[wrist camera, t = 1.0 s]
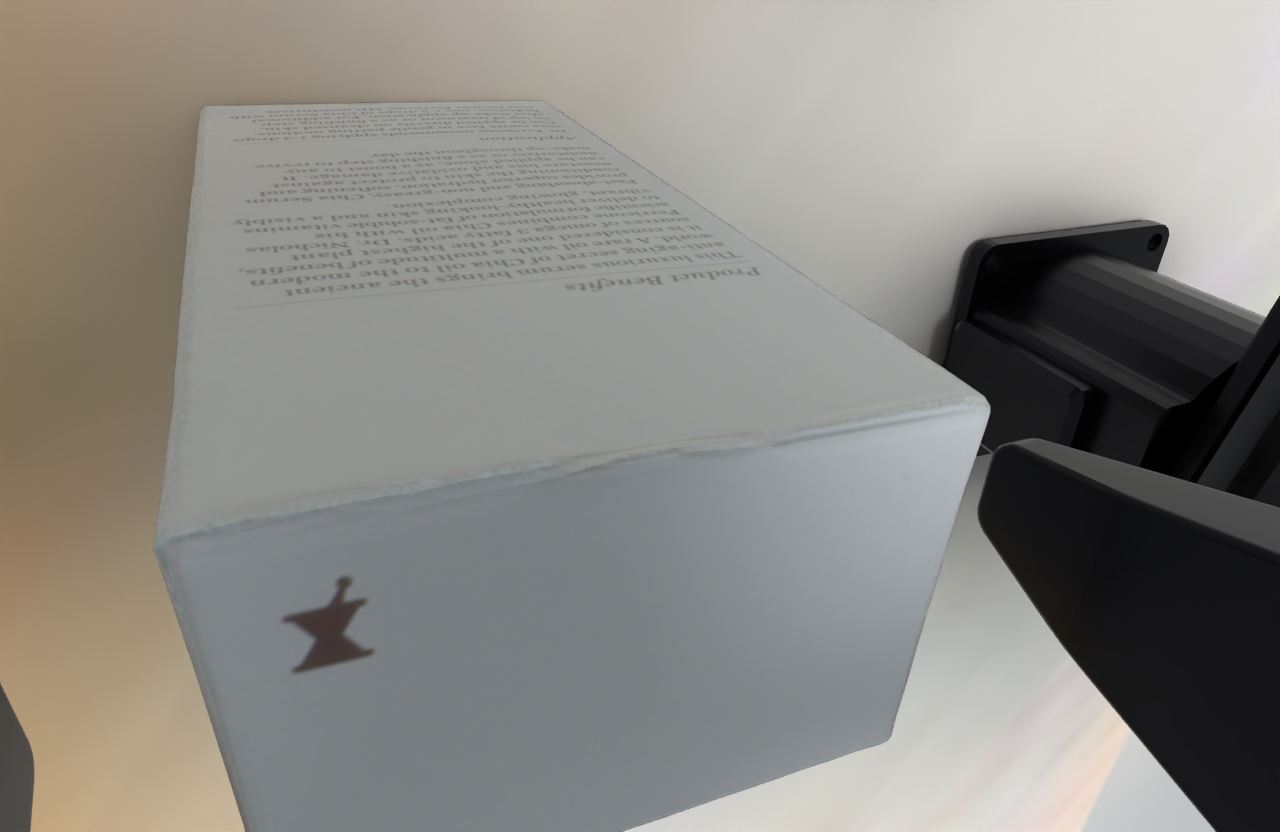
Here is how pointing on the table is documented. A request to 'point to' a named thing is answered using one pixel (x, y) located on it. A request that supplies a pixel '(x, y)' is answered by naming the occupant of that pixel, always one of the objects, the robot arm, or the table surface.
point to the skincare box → (528, 480)
